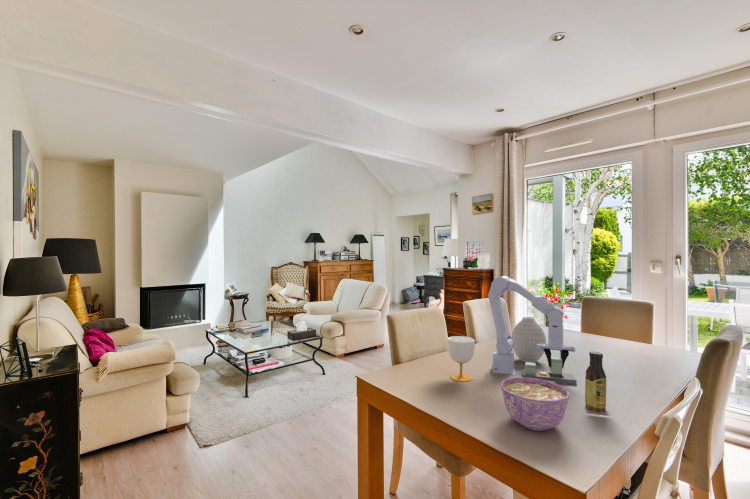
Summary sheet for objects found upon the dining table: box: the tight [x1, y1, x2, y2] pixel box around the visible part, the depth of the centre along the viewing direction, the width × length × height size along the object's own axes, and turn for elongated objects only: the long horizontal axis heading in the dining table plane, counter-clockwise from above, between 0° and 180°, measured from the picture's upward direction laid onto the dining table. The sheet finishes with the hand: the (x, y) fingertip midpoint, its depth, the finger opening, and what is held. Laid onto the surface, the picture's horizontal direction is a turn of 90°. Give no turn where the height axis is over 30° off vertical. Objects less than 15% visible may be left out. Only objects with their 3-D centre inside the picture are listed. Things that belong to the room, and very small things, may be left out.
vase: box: [511, 316, 547, 364], centre depth 179 cm, size 16×16×22 cm
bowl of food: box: [500, 376, 570, 432], centre depth 113 cm, size 20×20×12 cm
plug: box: [549, 356, 563, 374], centre depth 151 cm, size 4×4×6 cm
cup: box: [447, 335, 476, 383], centre depth 155 cm, size 12×12×17 cm
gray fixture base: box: [521, 362, 578, 386], centre depth 152 cm, size 20×8×6 cm, turn 73°
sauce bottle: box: [584, 350, 607, 413], centre depth 124 cm, size 7×6×20 cm
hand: (555, 367), depth 151 cm, fingers closed on plug, 4 cm apart
